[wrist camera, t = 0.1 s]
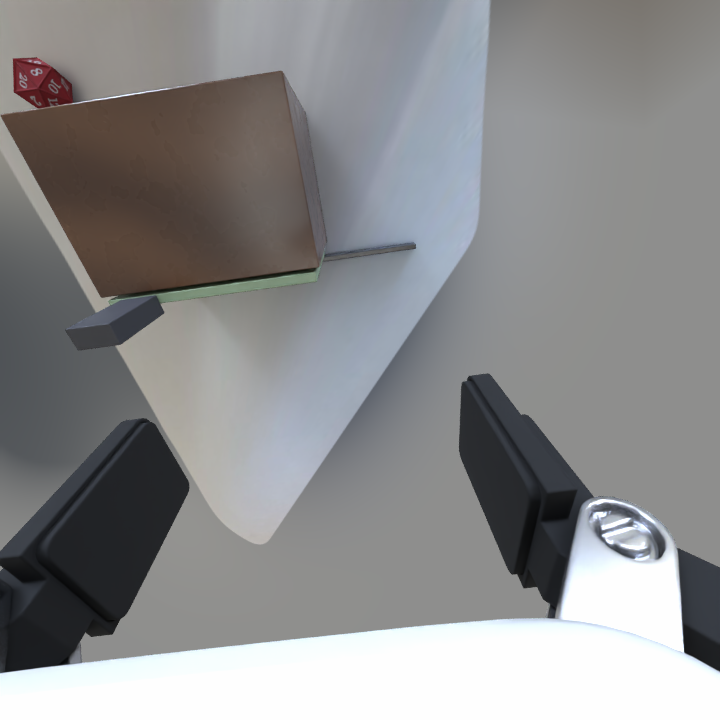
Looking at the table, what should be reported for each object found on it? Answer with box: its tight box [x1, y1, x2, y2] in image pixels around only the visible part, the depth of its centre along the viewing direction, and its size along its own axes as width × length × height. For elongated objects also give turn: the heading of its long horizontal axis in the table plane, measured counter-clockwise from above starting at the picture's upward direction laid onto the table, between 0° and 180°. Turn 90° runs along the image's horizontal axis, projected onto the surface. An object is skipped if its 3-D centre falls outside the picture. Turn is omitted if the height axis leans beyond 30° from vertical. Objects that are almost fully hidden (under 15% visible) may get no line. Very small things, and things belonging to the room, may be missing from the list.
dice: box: [13, 57, 73, 108], centre depth 27 cm, size 4×4×4 cm
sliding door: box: [65, 250, 325, 350], centre depth 29 cm, size 2×17×19 cm, turn 97°
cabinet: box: [1, 71, 416, 298], centre depth 28 cm, size 14×28×13 cm, turn 97°
